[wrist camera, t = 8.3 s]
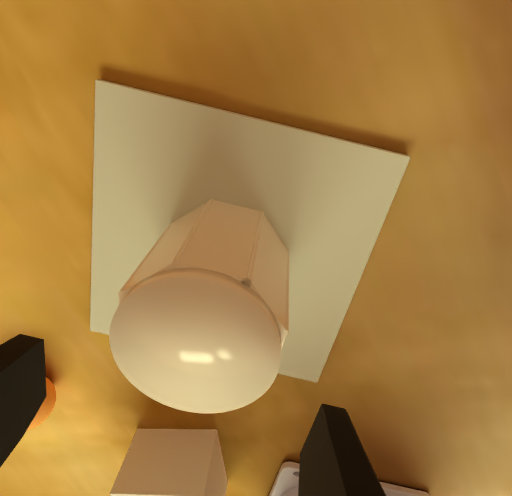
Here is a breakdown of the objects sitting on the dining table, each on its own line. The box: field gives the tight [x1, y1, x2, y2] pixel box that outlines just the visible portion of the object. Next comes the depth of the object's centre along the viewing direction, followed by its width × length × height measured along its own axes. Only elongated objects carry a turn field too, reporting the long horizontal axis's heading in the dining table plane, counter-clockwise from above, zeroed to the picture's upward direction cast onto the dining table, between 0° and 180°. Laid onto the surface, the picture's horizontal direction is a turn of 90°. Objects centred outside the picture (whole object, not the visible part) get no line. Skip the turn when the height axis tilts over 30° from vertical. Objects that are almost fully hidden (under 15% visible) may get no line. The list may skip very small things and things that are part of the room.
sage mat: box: [90, 79, 410, 383], centre depth 17 cm, size 12×12×1 cm
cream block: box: [110, 429, 228, 496], centre depth 22 cm, size 5×5×4 cm
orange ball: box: [26, 377, 56, 431], centre depth 20 cm, size 3×3×3 cm
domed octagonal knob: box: [109, 199, 289, 413], centre depth 14 cm, size 5×5×6 cm
